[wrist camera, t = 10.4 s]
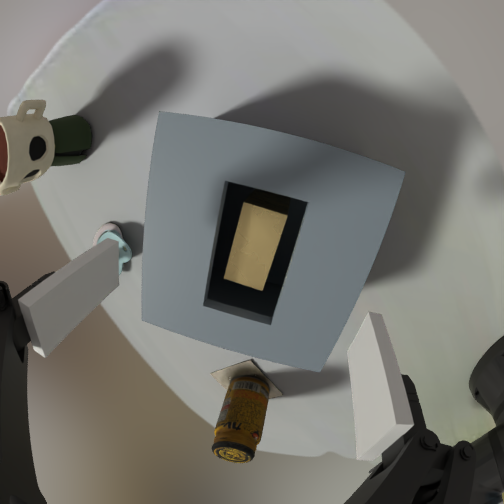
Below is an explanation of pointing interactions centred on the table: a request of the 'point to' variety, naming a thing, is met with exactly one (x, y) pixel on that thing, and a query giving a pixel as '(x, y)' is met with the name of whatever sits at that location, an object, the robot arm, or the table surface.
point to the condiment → (242, 411)
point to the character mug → (38, 144)
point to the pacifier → (116, 235)
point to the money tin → (289, 247)
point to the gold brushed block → (257, 238)
